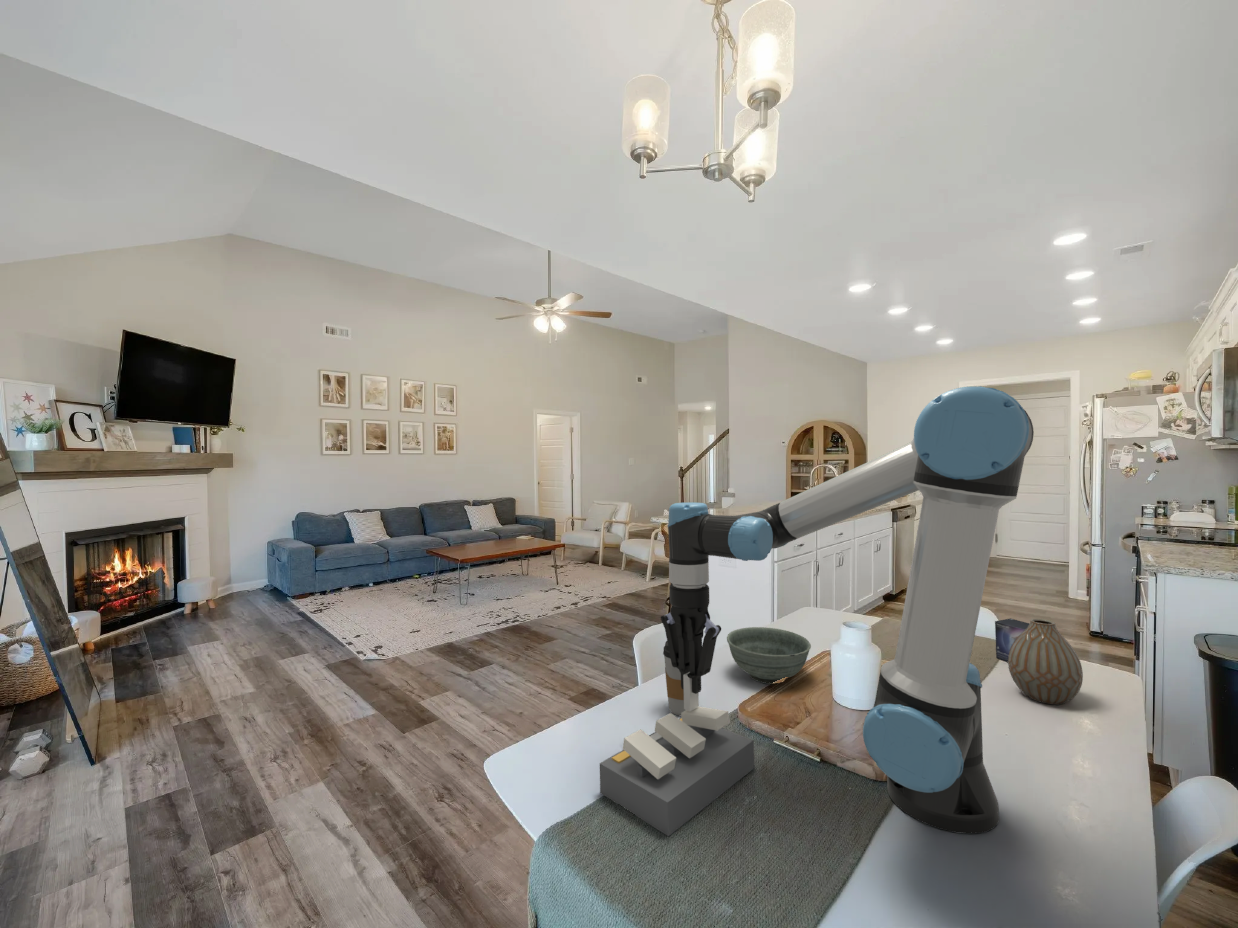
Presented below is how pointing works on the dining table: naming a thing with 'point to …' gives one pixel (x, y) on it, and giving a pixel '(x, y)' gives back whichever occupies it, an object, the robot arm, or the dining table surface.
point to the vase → (1045, 664)
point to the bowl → (768, 652)
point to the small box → (1007, 636)
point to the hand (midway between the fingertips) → (691, 707)
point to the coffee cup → (673, 684)
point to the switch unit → (678, 779)
